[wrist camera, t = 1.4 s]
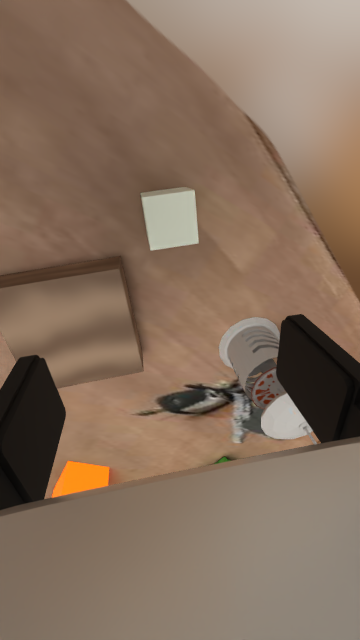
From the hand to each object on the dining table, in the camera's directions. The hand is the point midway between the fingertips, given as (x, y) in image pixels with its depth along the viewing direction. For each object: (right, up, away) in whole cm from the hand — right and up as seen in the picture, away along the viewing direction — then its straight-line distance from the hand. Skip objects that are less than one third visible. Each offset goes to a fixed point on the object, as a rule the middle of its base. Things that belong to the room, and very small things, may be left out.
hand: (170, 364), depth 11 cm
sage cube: (-1, +14, +20) cm, 25 cm away
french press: (+12, -2, +32) cm, 34 cm away
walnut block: (-13, +2, +25) cm, 28 cm away
